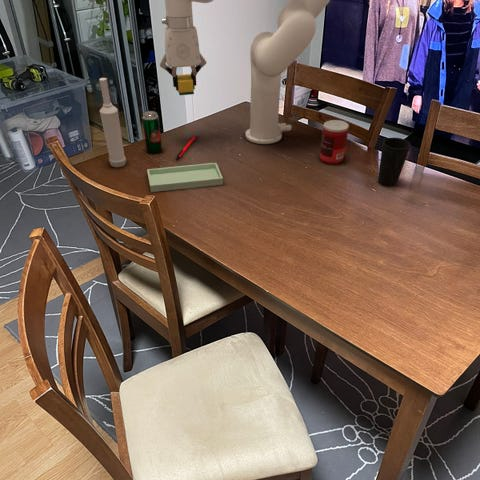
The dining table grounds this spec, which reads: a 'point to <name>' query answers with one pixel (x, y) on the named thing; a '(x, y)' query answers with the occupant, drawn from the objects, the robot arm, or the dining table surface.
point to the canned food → (333, 141)
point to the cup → (392, 160)
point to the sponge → (185, 84)
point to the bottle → (111, 128)
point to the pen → (185, 147)
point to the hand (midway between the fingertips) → (185, 87)
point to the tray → (184, 177)
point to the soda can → (152, 132)
